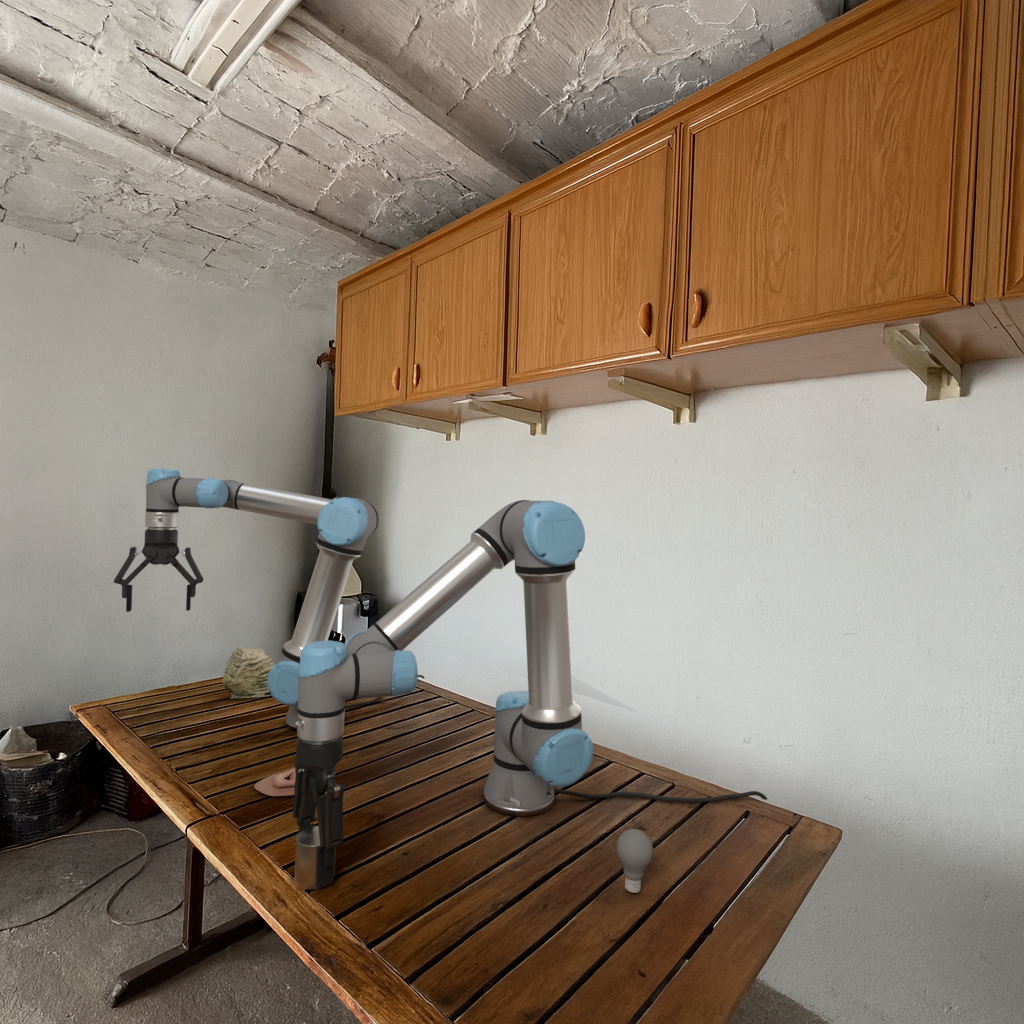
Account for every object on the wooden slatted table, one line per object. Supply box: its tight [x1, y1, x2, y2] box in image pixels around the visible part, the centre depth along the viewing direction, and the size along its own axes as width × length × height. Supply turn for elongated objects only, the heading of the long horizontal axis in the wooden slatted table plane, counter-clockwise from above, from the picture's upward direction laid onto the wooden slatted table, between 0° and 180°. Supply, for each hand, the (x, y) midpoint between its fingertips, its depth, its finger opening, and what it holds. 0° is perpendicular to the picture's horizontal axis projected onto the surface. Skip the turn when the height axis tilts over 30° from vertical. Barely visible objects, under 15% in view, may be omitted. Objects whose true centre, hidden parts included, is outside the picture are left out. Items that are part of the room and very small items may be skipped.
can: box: [294, 825, 337, 891], centre depth 106 cm, size 6×6×7 cm
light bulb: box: [615, 828, 654, 894], centre depth 106 cm, size 6×6×10 cm
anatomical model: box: [253, 767, 296, 797], centre depth 138 cm, size 13×4×12 cm
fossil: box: [222, 646, 276, 699], centre depth 198 cm, size 9×18×15 cm, turn 132°
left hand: (158, 610), depth 164 cm, fingers open, 13 cm apart
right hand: (315, 873), depth 106 cm, fingers closed on can, 6 cm apart
